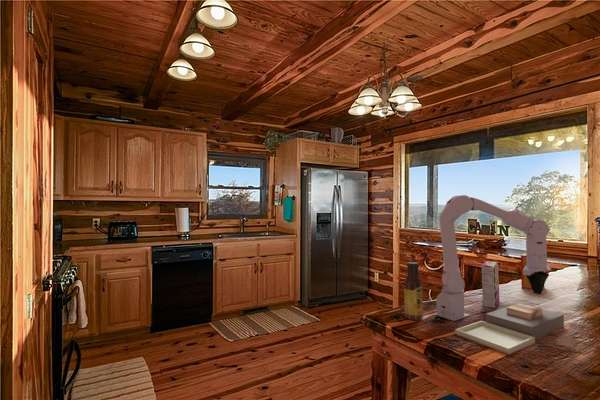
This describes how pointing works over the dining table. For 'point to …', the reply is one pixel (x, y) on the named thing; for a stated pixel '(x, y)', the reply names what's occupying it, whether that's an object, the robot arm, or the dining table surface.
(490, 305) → the candy bar box
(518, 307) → the tile
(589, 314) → the dining table surface
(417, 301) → the sauce bottle
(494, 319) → the grey flat block
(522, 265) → the baking soda box
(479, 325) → the tray
